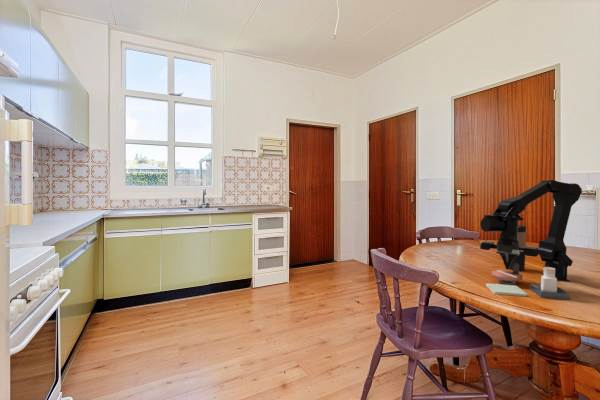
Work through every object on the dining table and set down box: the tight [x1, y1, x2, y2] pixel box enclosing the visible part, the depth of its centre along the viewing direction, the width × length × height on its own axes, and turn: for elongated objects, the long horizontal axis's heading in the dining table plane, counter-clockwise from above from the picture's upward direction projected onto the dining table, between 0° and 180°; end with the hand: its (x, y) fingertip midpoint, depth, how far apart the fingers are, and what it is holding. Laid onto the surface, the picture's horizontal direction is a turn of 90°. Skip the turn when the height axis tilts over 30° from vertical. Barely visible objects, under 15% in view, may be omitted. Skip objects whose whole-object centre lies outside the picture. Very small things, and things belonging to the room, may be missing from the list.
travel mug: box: [504, 224, 527, 272], centre depth 133 cm, size 8×8×20 cm
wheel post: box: [496, 278, 517, 286], centre depth 116 cm, size 6×6×2 cm
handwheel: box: [491, 263, 523, 282], centre depth 116 cm, size 10×10×5 cm
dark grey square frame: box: [529, 283, 570, 300], centre depth 103 cm, size 8×8×2 cm
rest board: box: [485, 283, 528, 297], centre depth 107 cm, size 10×9×1 cm
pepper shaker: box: [540, 266, 558, 292], centre depth 102 cm, size 4×4×10 cm
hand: (507, 269), depth 118 cm, fingers closed
